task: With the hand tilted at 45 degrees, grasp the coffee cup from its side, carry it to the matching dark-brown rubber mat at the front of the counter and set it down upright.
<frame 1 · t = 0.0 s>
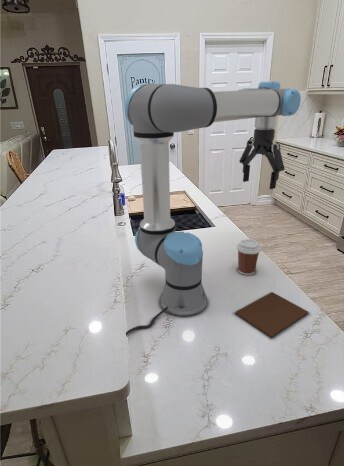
hand: (258, 184, 132), 28 cm above the worktop, tool pointing down, fingers open, 13 cm apart
coffee cup: (246, 271, 127), on the worktop
brown mat: (271, 313, 103), on the worktop
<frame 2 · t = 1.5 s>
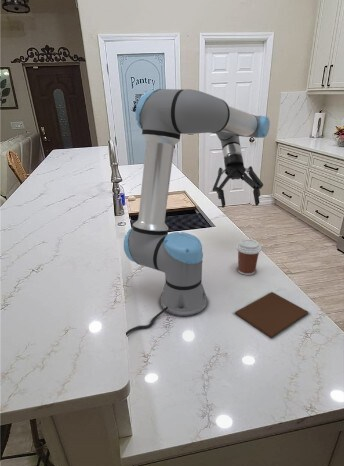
hand: (240, 205, 129), 22 cm above the worktop, tool tilted 45°, fingers open, 13 cm apart
nothing on the worktop moved.
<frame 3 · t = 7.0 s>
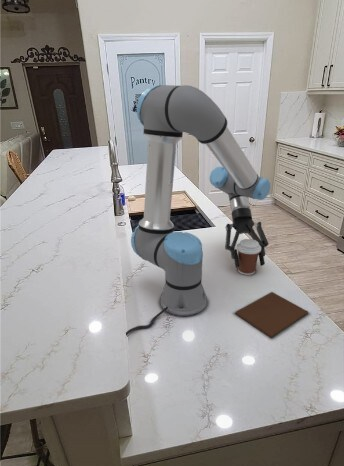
hand: (250, 265, 122), 4 cm above the worktop, tool tilted 45°, fingers closed on coffee cup, 9 cm apart
coffee cup: (246, 271, 127), on the worktop, touching gripper
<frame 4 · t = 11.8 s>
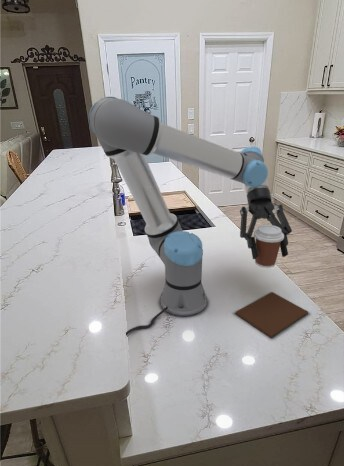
hand: (270, 256, 102), 17 cm above the worktop, tool tilted 45°, fingers closed on coffee cup, 9 cm apart
coffee cup: (264, 263, 107), point 12 cm above the worktop, touching gripper
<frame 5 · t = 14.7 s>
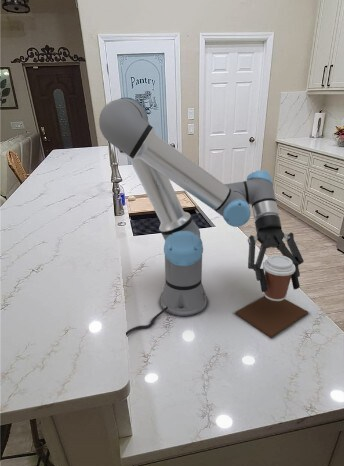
hand: (280, 289, 95), 11 cm above the worktop, tool tilted 45°, fingers closed on coffee cup, 9 cm apart
coffee cup: (274, 295, 100), point 7 cm above the worktop, touching gripper
when the fingers open (5 cm above the worktop, at t = 17.0 s): coffee cup stays where it is, resting on brown mat.
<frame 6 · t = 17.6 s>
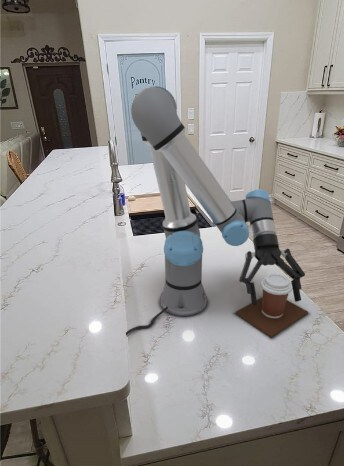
hand: (276, 302, 99), 6 cm above the worktop, tool tilted 45°, fingers open, 13 cm apart
coffee cup: (272, 312, 103), point 1 cm above the worktop, touching brown mat
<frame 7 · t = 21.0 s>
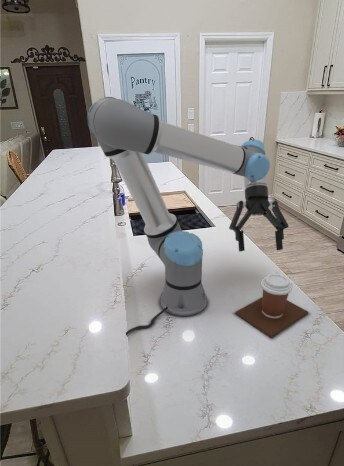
hand: (261, 250, 108), 16 cm above the worktop, tool tilted 35°, fingers open, 13 cm apart
nothing on the worktop moved.
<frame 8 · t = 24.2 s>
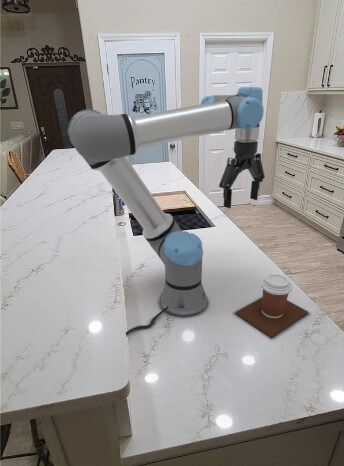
hand: (240, 203, 116), 27 cm above the worktop, tool pointing down, fingers open, 13 cm apart
nothing on the worktop moved.
at the end: coffee cup inside the target area on the brown mat (0.1 cm from its centre), point 0.6 cm above the brown mat's base; coffee cup tilted 0°; the gripper is holding nothing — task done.
